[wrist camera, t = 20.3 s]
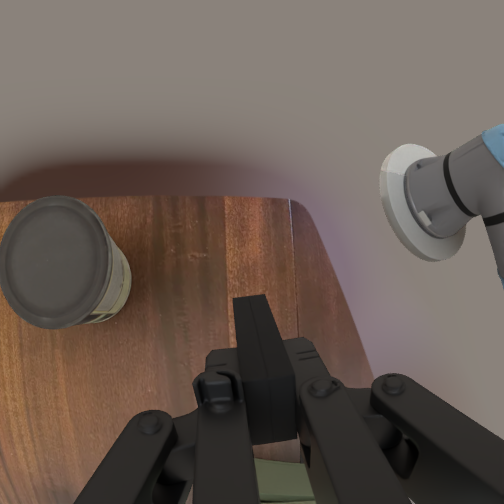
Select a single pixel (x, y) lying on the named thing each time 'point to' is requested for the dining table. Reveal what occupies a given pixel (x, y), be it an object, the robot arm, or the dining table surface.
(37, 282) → the coffee can
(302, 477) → the chest
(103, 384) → the dining table surface
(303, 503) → the lid
